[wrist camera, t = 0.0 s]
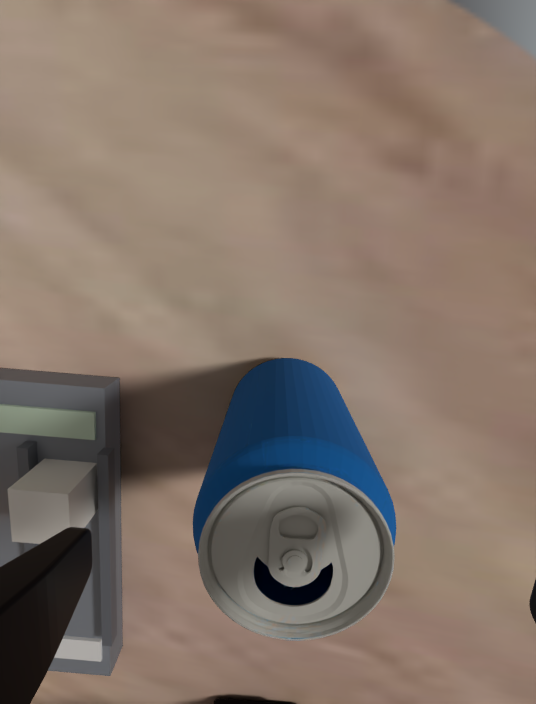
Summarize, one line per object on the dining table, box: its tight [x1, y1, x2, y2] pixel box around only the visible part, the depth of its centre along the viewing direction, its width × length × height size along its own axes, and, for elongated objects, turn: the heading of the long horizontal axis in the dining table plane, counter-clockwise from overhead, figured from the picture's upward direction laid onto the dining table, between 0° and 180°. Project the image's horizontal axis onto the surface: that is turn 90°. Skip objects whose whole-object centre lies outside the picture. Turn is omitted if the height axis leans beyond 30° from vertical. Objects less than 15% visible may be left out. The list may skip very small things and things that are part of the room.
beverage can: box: [193, 358, 396, 641], centre depth 16 cm, size 6×6×12 cm
